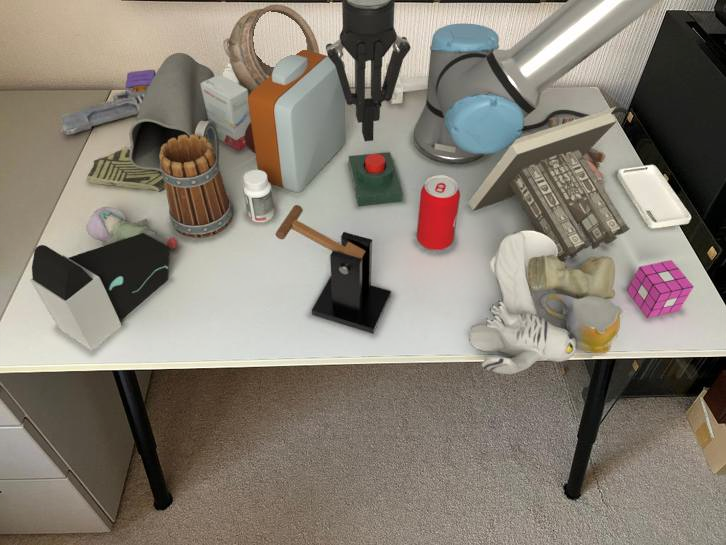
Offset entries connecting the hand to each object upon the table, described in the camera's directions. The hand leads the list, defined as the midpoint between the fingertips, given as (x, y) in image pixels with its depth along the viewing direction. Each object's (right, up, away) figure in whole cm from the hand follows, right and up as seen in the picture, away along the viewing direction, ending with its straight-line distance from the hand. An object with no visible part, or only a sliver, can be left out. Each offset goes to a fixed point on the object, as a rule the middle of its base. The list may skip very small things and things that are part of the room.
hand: (367, 136), depth 106 cm
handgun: (-57, +18, +29) cm, 67 cm away
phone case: (+53, -15, +2) cm, 55 cm away
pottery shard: (-44, -6, +10) cm, 46 cm away
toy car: (-28, +17, +31) cm, 45 cm away
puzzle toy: (+44, -28, -9) cm, 53 cm away
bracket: (-3, -28, -10) cm, 30 cm away
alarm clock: (-12, -2, +14) cm, 19 cm away
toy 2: (+16, -26, -22) cm, 38 cm away
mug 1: (-28, -12, +5) cm, 31 cm away
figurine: (+40, -2, +14) cm, 43 cm away
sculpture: (+37, -24, -9) cm, 45 cm away
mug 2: (+30, -27, -18) cm, 44 cm away
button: (+1, -4, +7) cm, 9 cm away
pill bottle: (-19, -13, +4) cm, 23 cm away
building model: (+29, -4, -1) cm, 29 cm away
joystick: (+4, +18, +28) cm, 33 cm away
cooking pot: (-25, +22, +29) cm, 44 cm away
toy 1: (-32, -20, -4) cm, 38 cm away
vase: (-38, +19, +27) cm, 50 cm away
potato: (-17, +1, +14) cm, 22 cm away
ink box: (-27, +4, +19) cm, 33 cm away
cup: (+24, -24, -6) cm, 35 cm away
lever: (-7, -19, -17) cm, 27 cm away
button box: (+1, -7, +10) cm, 12 cm away
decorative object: (-38, -27, -9) cm, 48 cm away
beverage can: (+11, -18, 0) cm, 21 cm away
